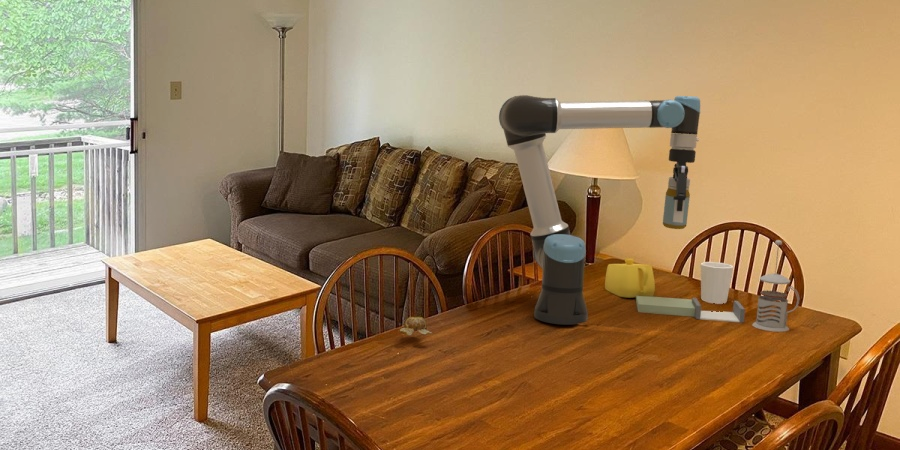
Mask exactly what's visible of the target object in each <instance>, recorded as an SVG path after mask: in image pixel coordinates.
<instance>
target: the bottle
mask: <svg viewBox="0 0 900 450" xmlns="http://www.w3.org/2000/svg"><path fill="white" fill-rule="evenodd" d="M690 183H691V179H690V178H688V177H687V186H686V199H685V205H684V215H683V223H680V222H673V216H674V206H675V200H673V198H674V196H675V197H676V181H675V178H673V176H670V177H669V178H668V182H667V190H666V192H665V196H664V206H663V207H664V208H663V215H662V225H663V227H665V228H666V229H667V228H668V229H673V230H683V229H685V228H686V227H687V224H688V215H689V214H688V213H689V206H690V205H689V204H690V195H691V194H690Z"/></svg>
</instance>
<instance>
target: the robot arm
mask: <svg viewBox="0 0 900 450" xmlns="http://www.w3.org/2000/svg"><path fill="white" fill-rule="evenodd" d="M673 99H674V100H673ZM673 99H663V100H661V99H660V100H647V99H644V100H641V99H639V100H595V101H594V100H591V101H589V100H588V101H587V100H586V101H579V100H578V101H559V99H557V98H556V97H541V96H540V97H538V96H533V95H524V94H523V95H522V94H521V95H514V96H511V97H510V98H508V99H506V101H504V102H503V104H502V105H501V108H500V109H499V113H498V120H499V124H500V126H501V129H502V130H503V132H504V133H503V134H504V137H505V139H506V145H507V147H508V148H510V149H511V150H513V152H514V154H515V155H514V156H515V160H516V163H517V167H518V171H519V174H520V178H521V183H522V185H523V187H522V188H523V191H524V194H525V198H526V199H525V200H526V202H527V206H528V210H529V211H528V212H529V214H530V218H531V222H532V226H533V228H532V230H531V232H530V238H531V239H530V240H531V242H532V246H533V248H532V251H533V252H532V254H533V258H534V259H535V262H536V264H537V266H540V268H541V269H542V275H541V277H542V279H541V291H540V294H539V296H538V300H537V301H536V304H535V307H534V311H533V312H534V313H533V317H534V318H535V319H536V320H538V321H541V322H543V323H548V324H554V325H565V326H566V325H567V326H568V325H570V326H571V325H578V324H582V323H585V322H587V321H588V310H587V304H586V300H585V297H584V291H583V290H584V280H585V279H584V278H585V263H586V262H585V261H586V255H587V253H586V252H587V250H586V242H585V241H584V239H582V238H580V237H579V236H575V235H571V232H570V231H571V230H570V228H569V224H568V223H566V222H564V221H563V220H562V216H561V212H560V209H559V205H558V200H557V196H556V192H555V189H554V185H553V184H554V183H553V181H552V177H551V171H550V167H549V164H548V160H547V157H546V152H545V148H544V144H543V143H544V141H545V139H546V138H547V135H546V134H556V133H557V132H558V131H559V130H577V129H578V130H586V129H587V130H588V129H591V130H592V129H595V130H596V129H633V128H634V129H640V128H644V129H645V128H649V129H654V128H655V129H657V128H659V129H660V128H665V129H671V132H670V140H669V147H670V149H669V151H668V161H669V162H674V167H673V168H672V169H673V171H672V173H673V175H672V177H673V178H675V181H676V197H675V196H674V198H673V200H675V206H674V216H673V222H680V223H683V215H684V205H685V199H686V186H687V178H688V174H689V167H688V166H687V163H688V164H689V163H690V164H691V163H695V161H696V150H695V149H696V148H697V142H699V141H700V139H699V138H698V131H699V123H700V114H701V99H700V98H699V97H697V96H692V95H690V96H688V95H677V96H676V95H675V97H674V98H673ZM675 162H676V163H675Z"/></svg>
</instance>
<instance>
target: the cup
mask: <svg viewBox="0 0 900 450" xmlns="http://www.w3.org/2000/svg"><path fill="white" fill-rule="evenodd" d="M733 271H734V266H733V264H730V263H729V264H728V263H726V262H725V263H724V262H717V261H704V262H701V263H700V288H701V289H700V298H701V300H702V301H703V302H706V303H709V304H713V303H715V304H714V305H722V304H723V303H724V304H726V303H727V301H728V296H729V291H730V287H731V281H732V276H733ZM724 304H723V305H724Z"/></svg>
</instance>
